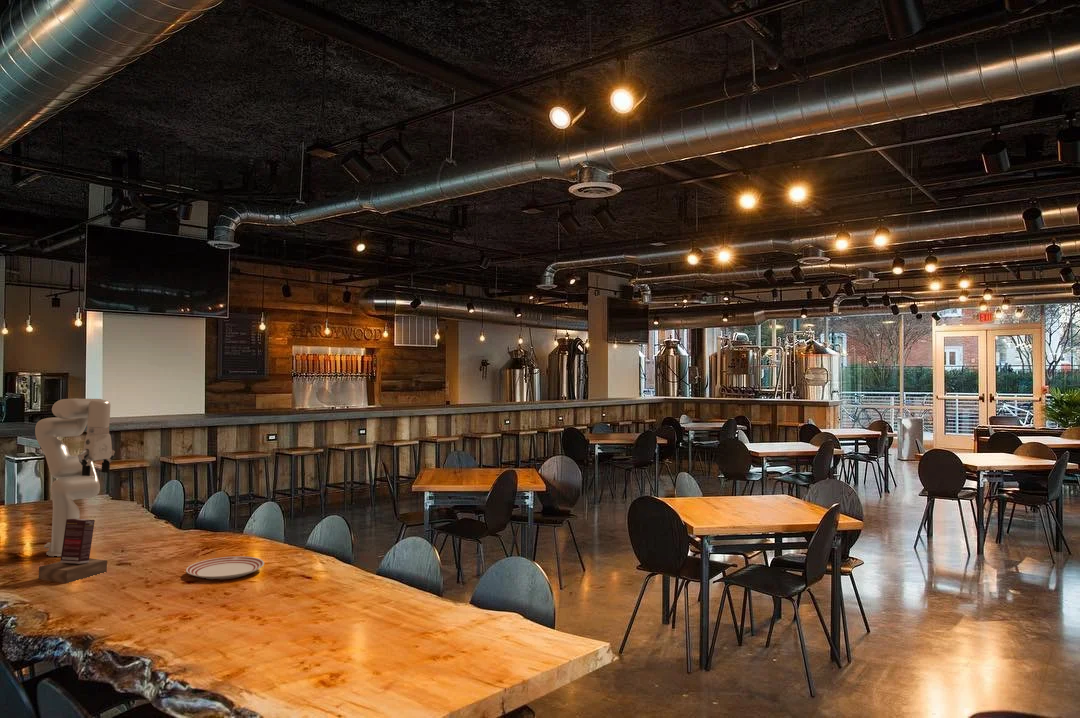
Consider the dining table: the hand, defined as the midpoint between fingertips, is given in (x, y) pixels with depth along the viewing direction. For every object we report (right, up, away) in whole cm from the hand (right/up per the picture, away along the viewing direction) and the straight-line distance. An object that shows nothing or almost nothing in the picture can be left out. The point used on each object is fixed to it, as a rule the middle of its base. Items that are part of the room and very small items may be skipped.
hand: (95, 474), depth 284 cm
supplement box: (+4, -30, -19) cm, 36 cm away
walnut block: (+3, -35, -19) cm, 40 cm away
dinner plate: (+57, -36, -12) cm, 69 cm away
